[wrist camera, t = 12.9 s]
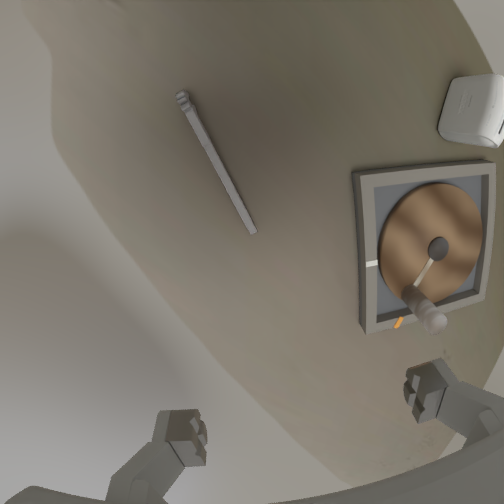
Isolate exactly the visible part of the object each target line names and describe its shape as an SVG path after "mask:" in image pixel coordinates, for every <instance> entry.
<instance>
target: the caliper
mask: <svg viewBox="0 0 504 504" xmlns="http://www.w3.org/2000/svg"><path fill="white" fill-rule="evenodd" d="M175 96H176V98H177V102H178V103H179V104H181V109H182V111H184V112H185V115H186V117H187V118H188V120H189V122H190V124H191V126H192V128H193V129H194V131H195V133H196V135H197V137H198V139H199V141H200V142H201V144H202V146H203V147H204V149H205V151H206V153H207V155H208V156H209V158H210V160H211V162H212V164H213V166H214V168H215V170H216V171H217V173H218V175H219V177H220V179H221V181H222V183H223V185H224V186H225V188H226V190H227V192H228V194H229V196H230V198H231V200H232V201H233V203H234V205H235V207H236V209H237V211H238V213H239V215H240V216H241V218H242V220H243V222H244V224H245V226H246V228H247V229H248V231H249V232H250V234H254V233H256V232H258V231H257V229H256V227H255V225H254V223H253V221H252V219H251V217H250V215H249V213H248V211H247V209H246V207H245V205H244V203H243V201H242V199H241V197H240V195H239V194H238V192H237V190H236V188H235V186H234V184H233V182H232V180H231V178H230V176H229V174H228V172H227V170H226V169H225V167H224V165H223V163H222V161H221V159H220V157H219V155H218V153H217V151H216V149H215V148H214V146H213V144H212V142H211V140H210V137H209V135H208V133H207V131H206V129H205V127H204V126H203V124H202V122H201V120H200V119H199V117H198V114H197V111H196V107H195V105H194V104H193V105H192V104H191V102H190V100H189V94H188V92H187V91H185V90H182V91H180V92H178V93H176V95H175Z"/></svg>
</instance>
